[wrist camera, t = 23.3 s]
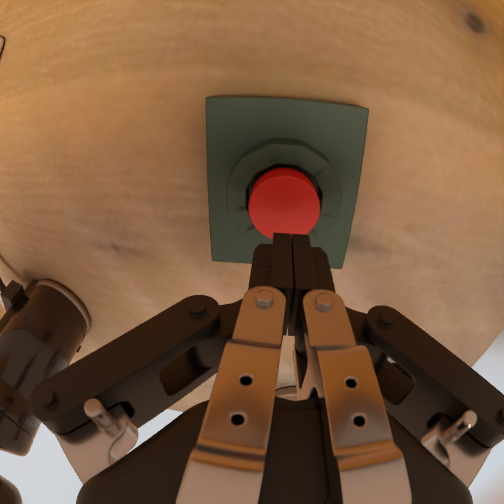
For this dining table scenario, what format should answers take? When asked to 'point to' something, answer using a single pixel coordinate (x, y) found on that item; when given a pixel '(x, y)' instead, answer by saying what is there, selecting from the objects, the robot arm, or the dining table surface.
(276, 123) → the green push button base
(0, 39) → the smartphone
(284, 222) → the arm button
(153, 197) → the dining table surface
